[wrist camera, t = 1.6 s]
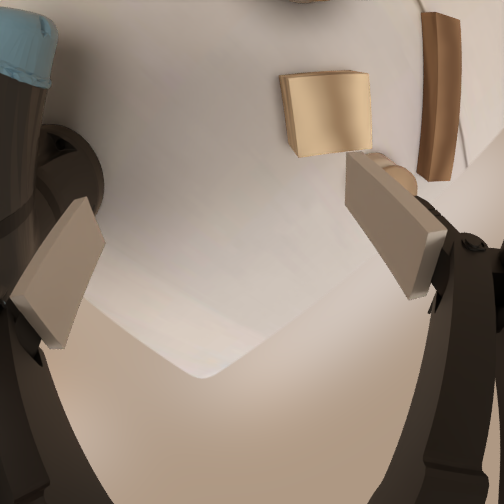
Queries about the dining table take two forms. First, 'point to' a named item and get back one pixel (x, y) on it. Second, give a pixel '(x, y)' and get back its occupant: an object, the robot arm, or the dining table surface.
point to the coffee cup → (306, 1)
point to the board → (440, 95)
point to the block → (327, 111)
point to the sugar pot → (396, 172)
